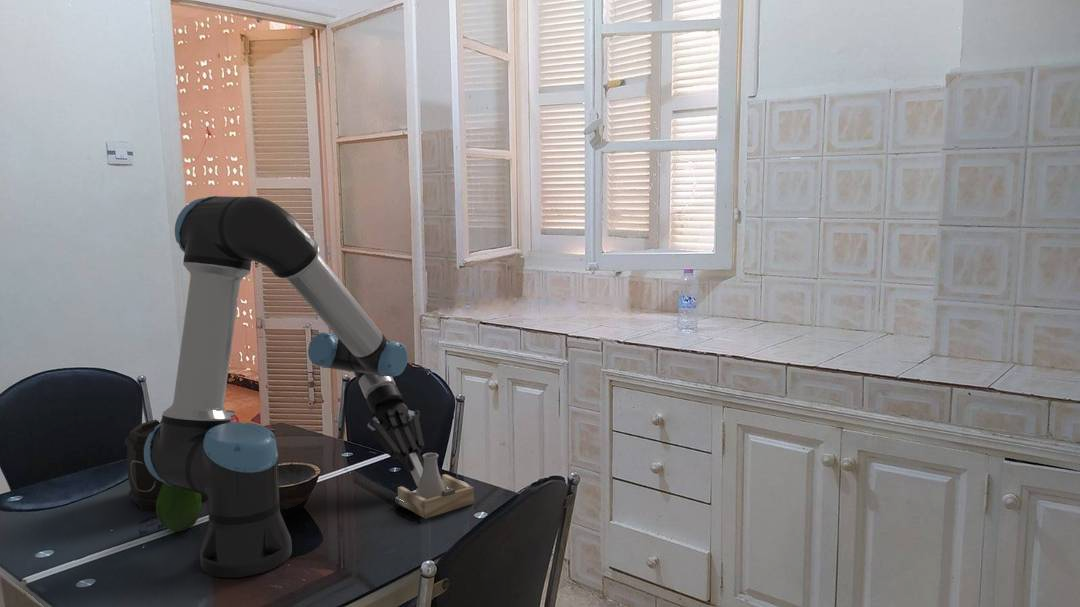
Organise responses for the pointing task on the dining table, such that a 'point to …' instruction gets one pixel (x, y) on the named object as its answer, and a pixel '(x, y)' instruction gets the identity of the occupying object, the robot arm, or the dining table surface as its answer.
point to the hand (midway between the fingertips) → (422, 482)
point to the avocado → (177, 508)
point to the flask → (430, 478)
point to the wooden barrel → (143, 468)
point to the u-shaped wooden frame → (438, 498)
